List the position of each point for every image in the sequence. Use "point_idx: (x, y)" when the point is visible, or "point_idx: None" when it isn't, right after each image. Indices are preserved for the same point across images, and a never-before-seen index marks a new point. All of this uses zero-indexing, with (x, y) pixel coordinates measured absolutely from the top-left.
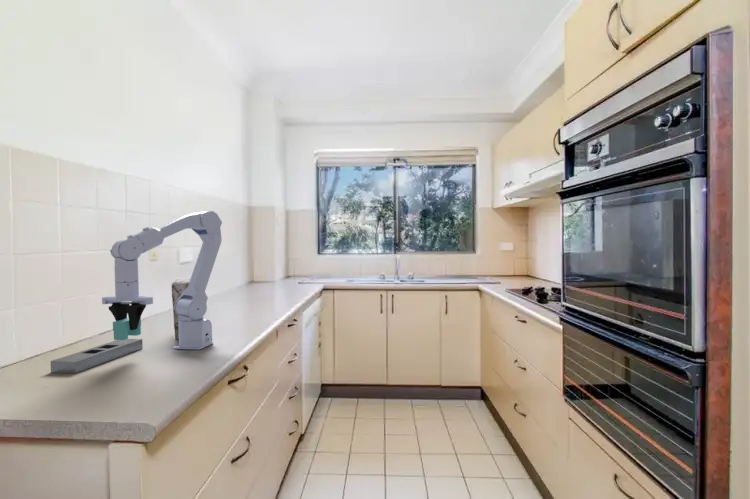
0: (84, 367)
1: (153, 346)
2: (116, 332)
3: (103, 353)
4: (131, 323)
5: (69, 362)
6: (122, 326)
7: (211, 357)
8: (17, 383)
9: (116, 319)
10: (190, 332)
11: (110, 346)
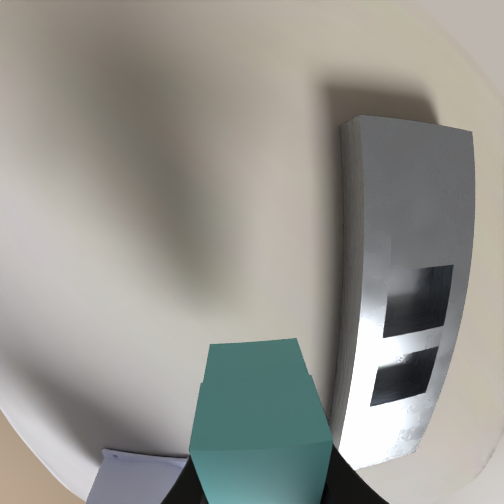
0: (346, 172)
1: None
2: (277, 374)
3: (358, 298)
4: (183, 475)
5: (389, 118)
6: (198, 415)
7: (12, 378)
8: (429, 31)
9: (354, 489)
10: (126, 501)
11: (407, 392)
